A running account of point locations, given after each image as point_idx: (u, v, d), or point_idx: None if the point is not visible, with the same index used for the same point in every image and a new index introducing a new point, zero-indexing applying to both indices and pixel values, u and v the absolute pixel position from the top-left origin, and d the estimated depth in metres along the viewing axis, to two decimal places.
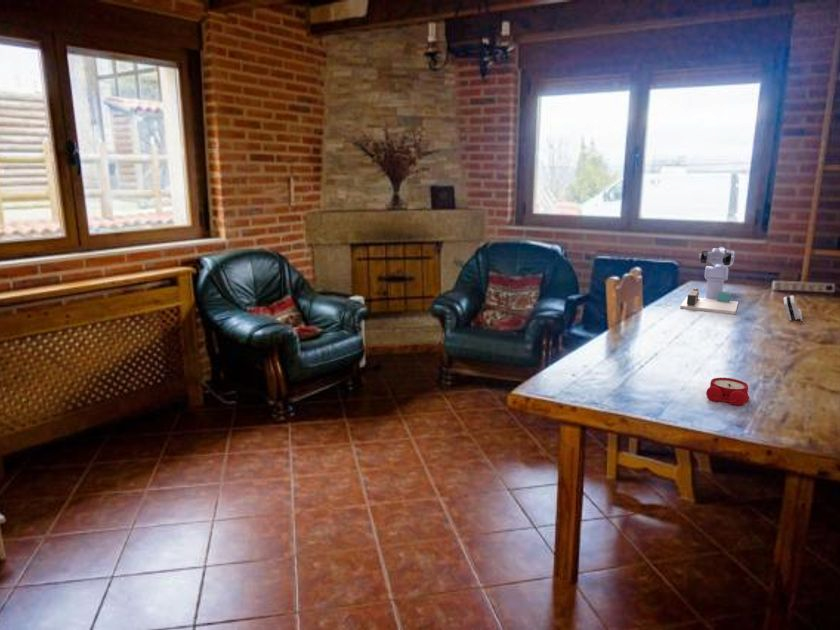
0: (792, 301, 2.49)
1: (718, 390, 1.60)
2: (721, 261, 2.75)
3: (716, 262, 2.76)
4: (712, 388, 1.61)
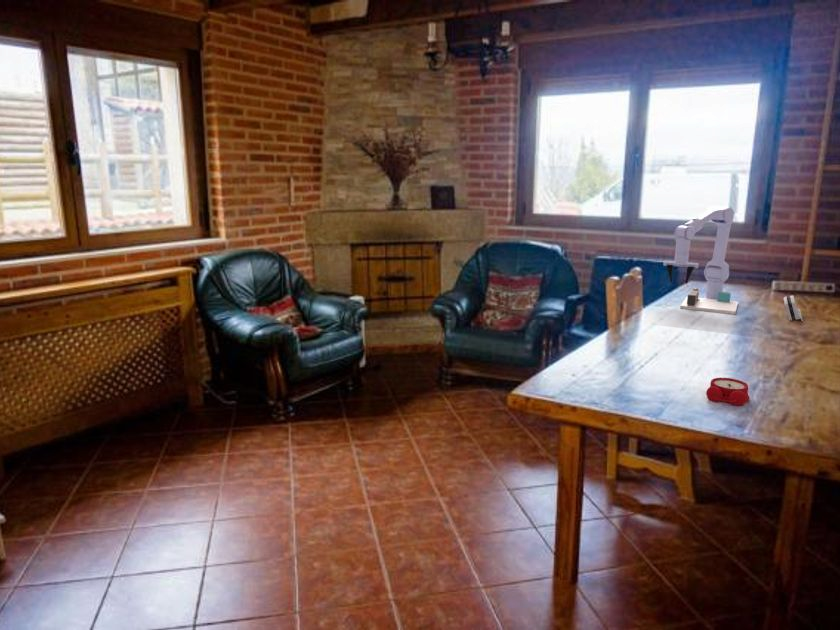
0: (792, 301, 2.49)
1: (718, 390, 1.60)
2: None
3: None
4: (712, 388, 1.61)
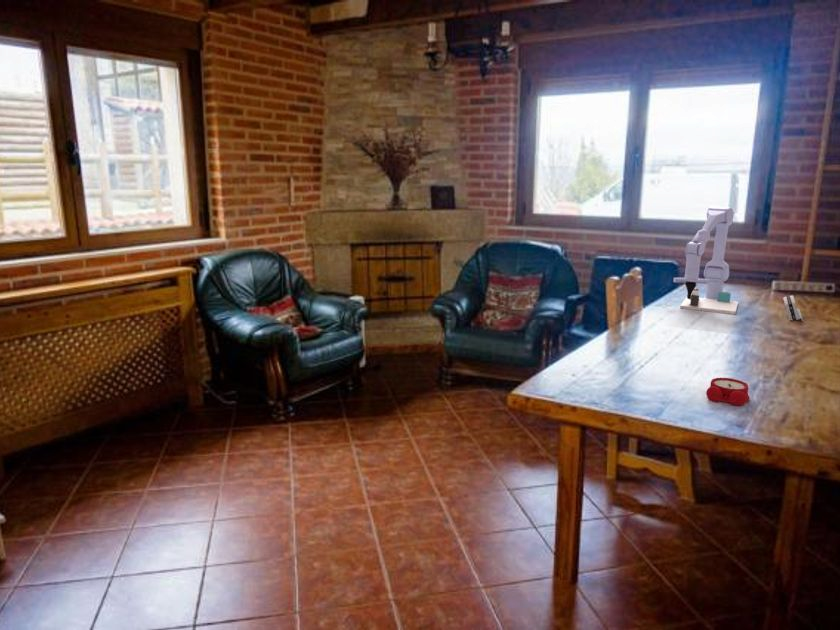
0: (793, 301, 2.49)
1: (718, 390, 1.60)
2: None
3: None
4: (712, 388, 1.61)
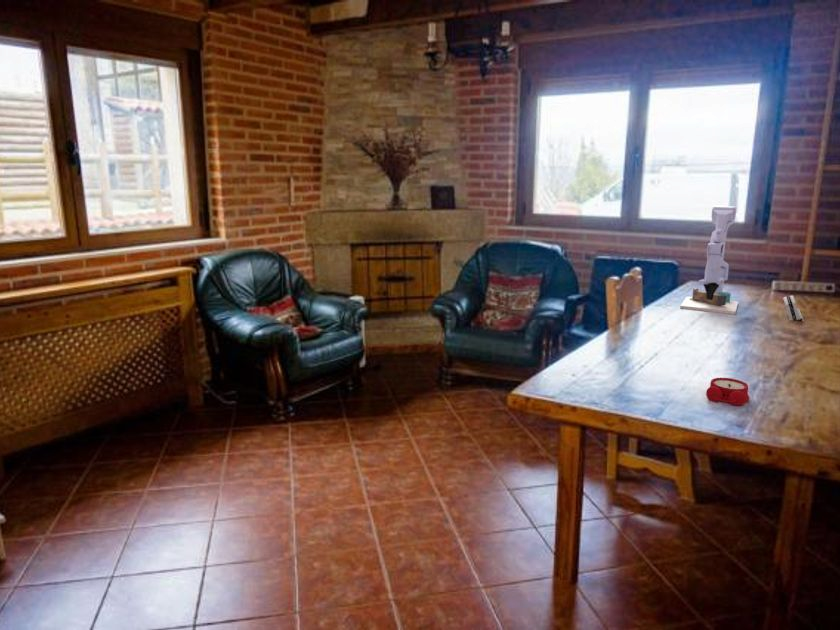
0: (793, 301, 2.49)
1: (718, 390, 1.60)
2: None
3: None
4: (712, 388, 1.61)
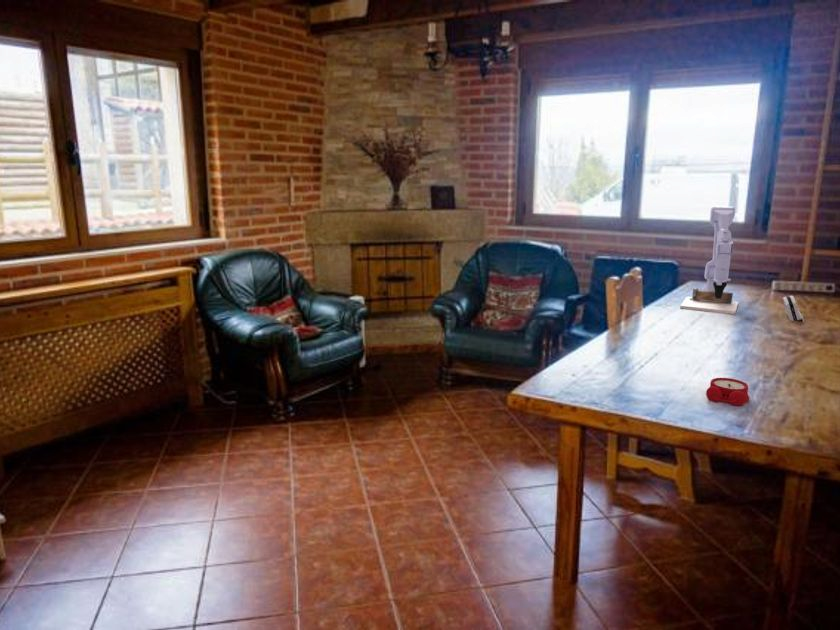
0: (793, 301, 2.48)
1: (718, 390, 1.60)
2: None
3: None
4: (712, 388, 1.61)
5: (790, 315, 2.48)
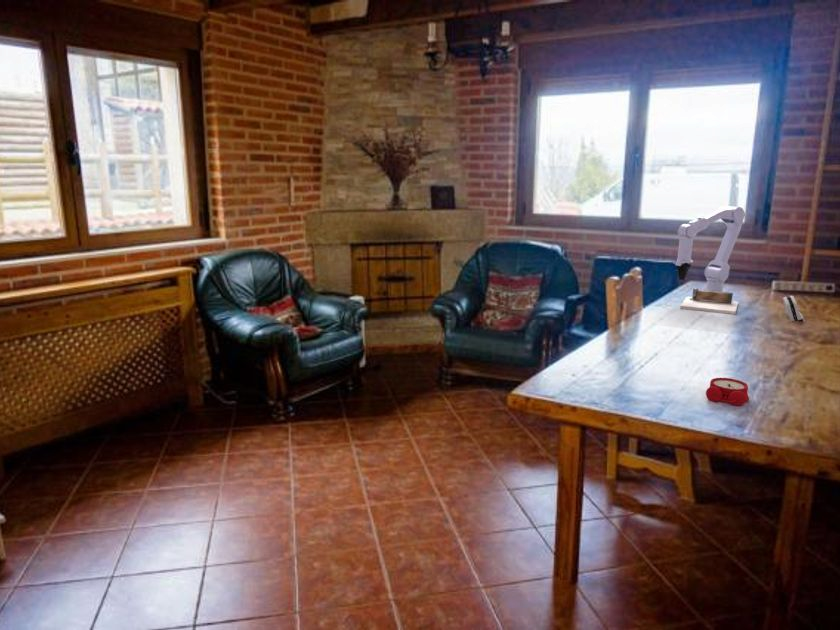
0: (794, 302, 2.48)
1: (718, 390, 1.60)
2: None
3: None
4: (712, 388, 1.61)
5: (791, 315, 2.48)
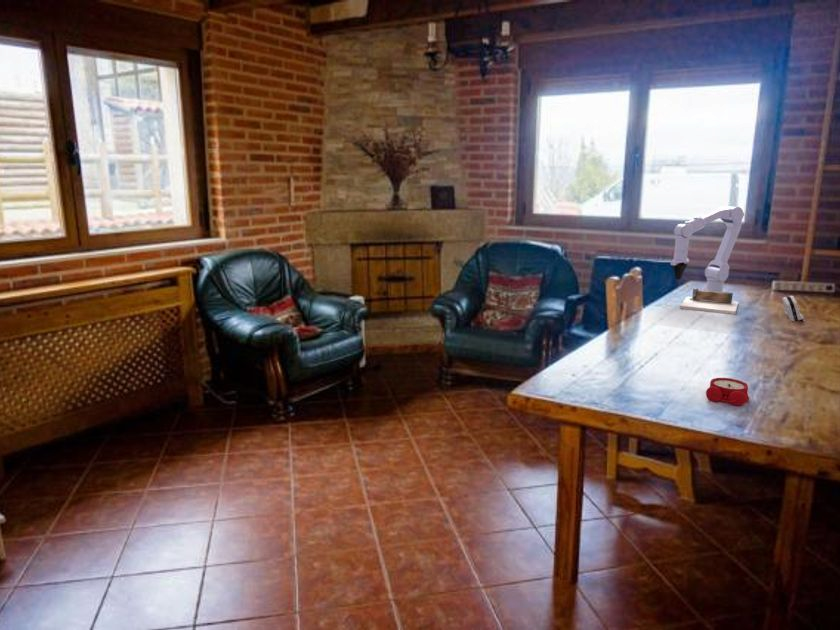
0: (794, 302, 2.48)
1: (718, 390, 1.60)
2: None
3: None
4: (712, 388, 1.61)
5: (791, 315, 2.48)
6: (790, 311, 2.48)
